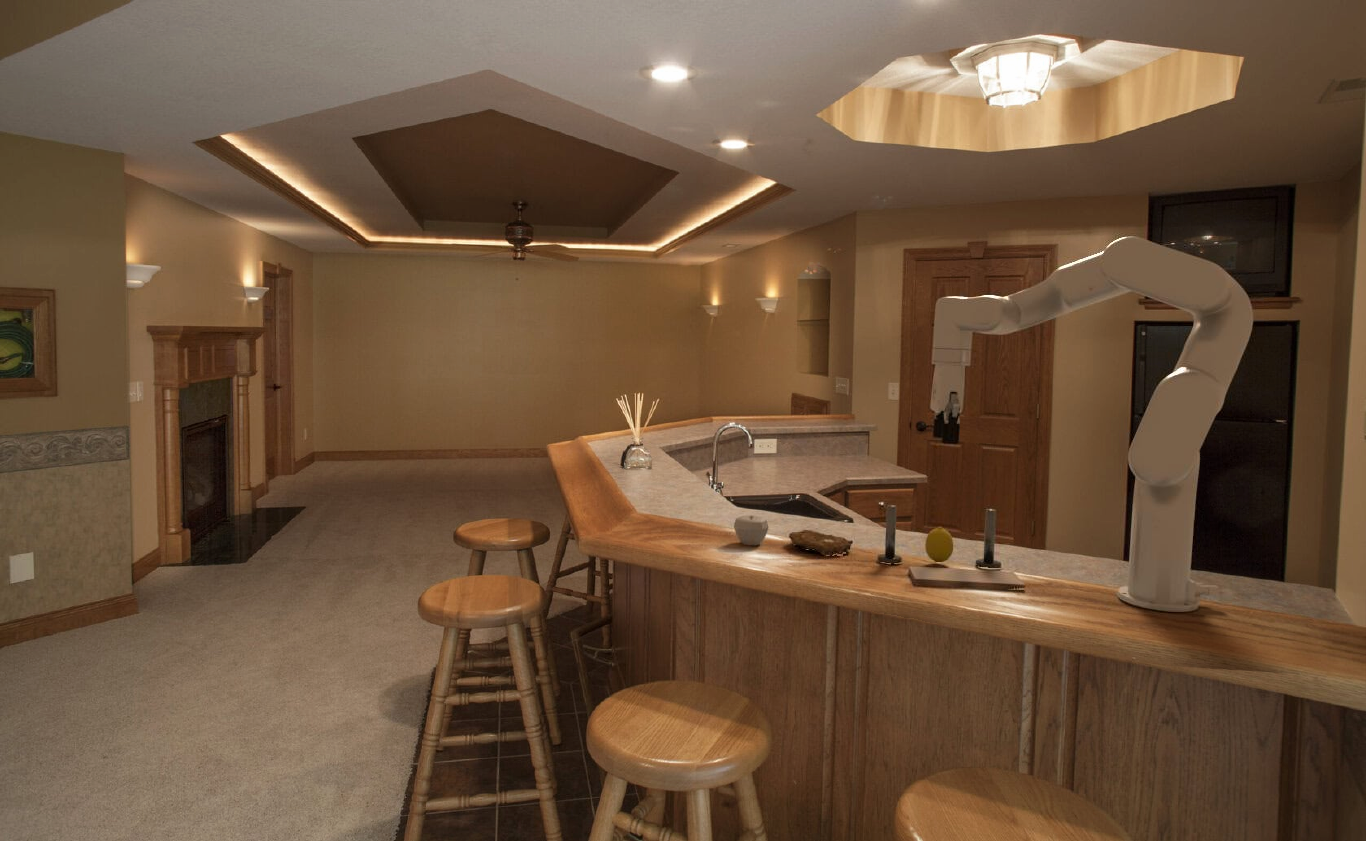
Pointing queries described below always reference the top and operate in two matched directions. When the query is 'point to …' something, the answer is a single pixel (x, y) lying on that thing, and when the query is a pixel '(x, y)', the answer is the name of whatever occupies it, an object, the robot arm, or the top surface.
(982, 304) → the robot arm
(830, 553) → the decorative rock
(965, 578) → the walnut board
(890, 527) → the post far side
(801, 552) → the top surface
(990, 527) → the post arm side
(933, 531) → the lemon
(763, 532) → the apple
